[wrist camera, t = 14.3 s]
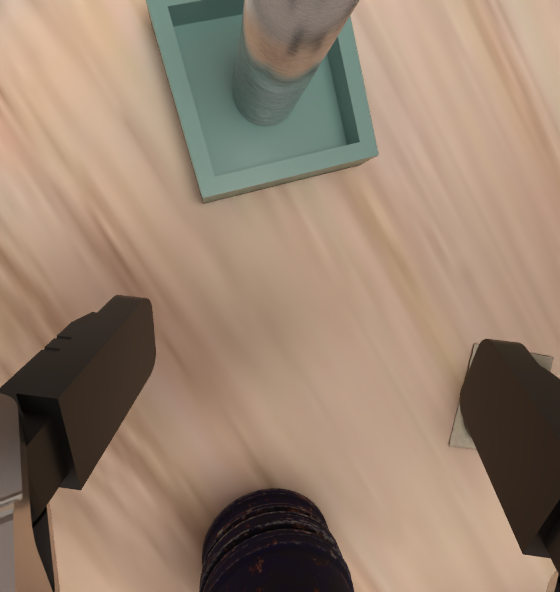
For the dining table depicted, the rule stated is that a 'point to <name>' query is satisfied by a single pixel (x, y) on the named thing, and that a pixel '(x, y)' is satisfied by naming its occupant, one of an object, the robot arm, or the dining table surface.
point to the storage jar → (272, 547)
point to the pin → (282, 53)
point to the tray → (238, 130)
